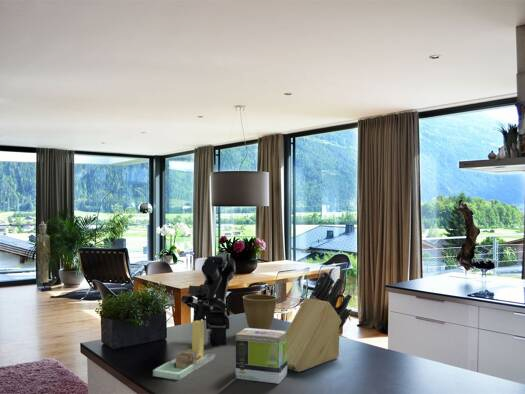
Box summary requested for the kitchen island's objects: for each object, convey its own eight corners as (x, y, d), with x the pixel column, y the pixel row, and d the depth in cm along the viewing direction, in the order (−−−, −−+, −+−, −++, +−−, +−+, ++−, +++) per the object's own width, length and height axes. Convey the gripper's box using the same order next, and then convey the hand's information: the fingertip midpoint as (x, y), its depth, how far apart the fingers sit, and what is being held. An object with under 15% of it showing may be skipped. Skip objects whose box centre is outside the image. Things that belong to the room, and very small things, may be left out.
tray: (168, 370, 170) (168, 361, 170) (193, 374, 166) (193, 365, 166) (152, 379, 161) (152, 370, 161) (178, 383, 157) (178, 374, 157)
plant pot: (276, 338, 211) (277, 300, 211) (241, 338, 211) (241, 300, 211) (276, 329, 226) (276, 294, 226) (243, 329, 226) (243, 293, 226)
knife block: (354, 352, 192) (354, 272, 192) (295, 375, 166) (296, 282, 166) (329, 346, 199) (330, 269, 200) (270, 367, 174) (271, 278, 174)
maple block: (188, 360, 177) (188, 349, 177) (198, 361, 175) (198, 350, 175) (182, 363, 173) (182, 352, 173) (193, 365, 171) (193, 353, 171)
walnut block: (181, 364, 172) (182, 352, 172) (192, 365, 171) (192, 354, 171) (175, 367, 169) (176, 355, 169) (186, 369, 167) (186, 357, 167)
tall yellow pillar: (193, 356, 181) (194, 319, 181) (205, 357, 179) (206, 321, 179) (188, 359, 177) (188, 322, 177) (200, 360, 176) (200, 323, 176)
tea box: (287, 374, 167) (288, 330, 167) (278, 385, 157) (279, 337, 157) (245, 369, 172) (245, 326, 172) (234, 379, 162) (234, 333, 162)
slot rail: (190, 357, 184) (190, 349, 184) (215, 360, 180) (215, 353, 180) (168, 370, 170) (168, 362, 170) (194, 374, 166) (194, 366, 166)
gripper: (180, 274, 191) (163, 311, 183) (217, 276, 180) (200, 316, 172) (197, 288, 198) (181, 325, 191) (233, 291, 187) (218, 330, 179)
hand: (194, 324), depth 183 cm, fingers closed
